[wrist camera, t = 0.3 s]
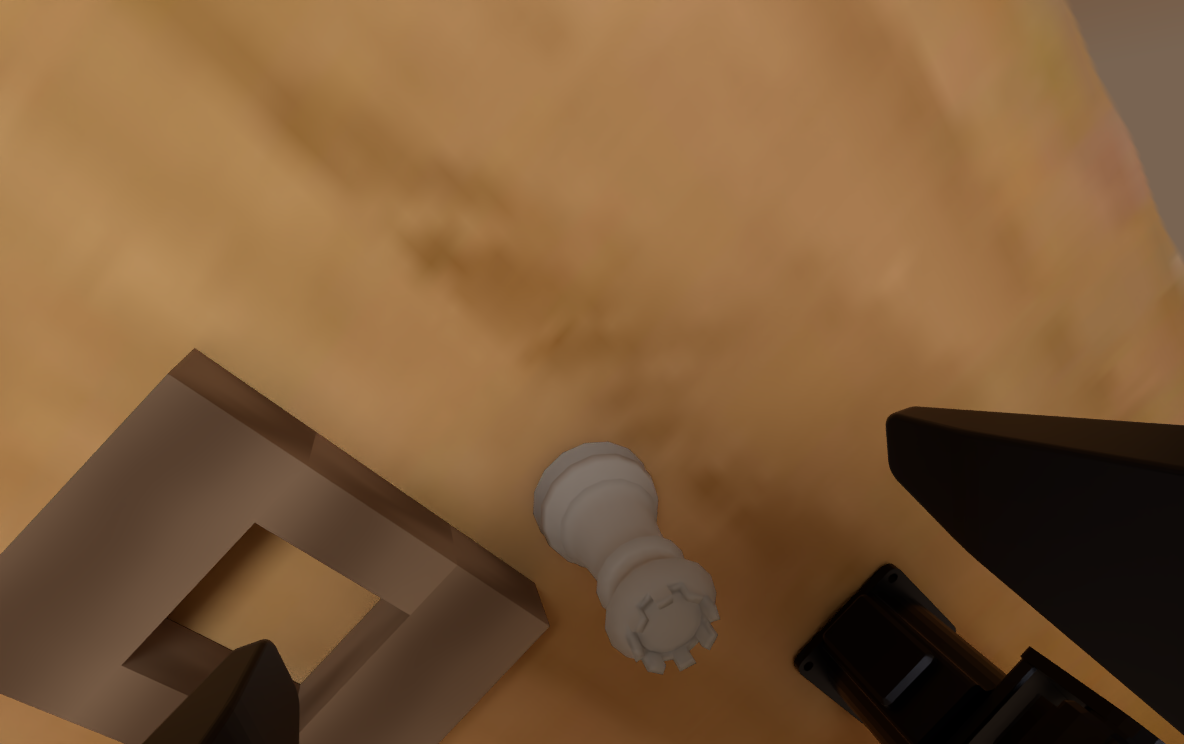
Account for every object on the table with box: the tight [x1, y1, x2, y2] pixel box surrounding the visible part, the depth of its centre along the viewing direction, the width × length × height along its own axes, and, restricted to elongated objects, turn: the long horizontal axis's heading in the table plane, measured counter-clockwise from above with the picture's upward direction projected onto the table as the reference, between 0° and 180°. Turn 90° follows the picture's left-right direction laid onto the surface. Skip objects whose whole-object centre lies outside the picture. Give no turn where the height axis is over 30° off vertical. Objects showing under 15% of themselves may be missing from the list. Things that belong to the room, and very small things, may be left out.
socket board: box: [0, 348, 549, 744], centre depth 21 cm, size 14×10×2 cm
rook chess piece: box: [533, 442, 720, 674], centre depth 21 cm, size 4×4×8 cm
